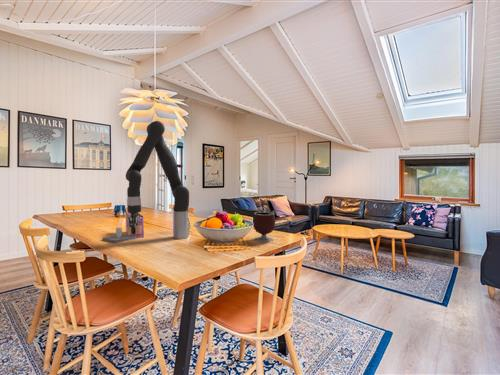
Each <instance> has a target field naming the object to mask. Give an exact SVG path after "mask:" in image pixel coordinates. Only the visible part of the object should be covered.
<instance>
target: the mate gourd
mask: <svg viewBox="0 0 500 375" xmlns="http://www.w3.org/2000/svg"><path fill="white" fill-rule="evenodd" d="M275 212H277V209H275V210H272V211H257V212H254V214H253V219H252V221H253V224H252V225H253V229H254V230H255V233H258V234H260V235H261V236H257V237H254V238H253V240H254V241H255V240H256V241H255V242H257V241H259V242H258V243H271V242H270V241H272V242H273V241H274V238H273V237H271V236H269V237H268V236H267V235H268V234H271V233H272V232H273V231H274V229H275V226H276V216H275Z"/></svg>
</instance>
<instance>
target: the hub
mask: <svg viewBox="0 0 500 375" xmlns="http://www.w3.org/2000/svg"><path fill="white" fill-rule="evenodd" d="M135 231H136V233H135V234H141V233H142V225H136V227H135ZM129 234H131V227H129V226H128V227H127V232H126V235H129Z"/></svg>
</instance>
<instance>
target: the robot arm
mask: <svg viewBox="0 0 500 375" xmlns="http://www.w3.org/2000/svg"><path fill="white" fill-rule="evenodd" d="M165 129H166V128H165V124H164V123H163V122H161V121H160V120H154V121H151V122H150V123H149V124H148V125H147V127H146V134H147V136H146V138H145V140H144V142H143V143H142V145H141V146H140V148H139V149H138V152H137V153H136V155H135V157H134V159H133V160H132V161H133V162H132V163H131V165H130V166H129V167H128V169H127V171H126V172H125V179H126V180H127V181H128V187H127V190H126V192H127V193H126V195H127V196H126V197H127V198H126V208H127V209H126V210H127V211H126V212H127V213H131V216H130V217H129V227H131V234H135V233H136V231H135V227H136V225H139V223H140V215H141V214H140V213H141V212H142V199H141V198H142V197H141V186H142V174H141V171H142V170H143V169H145V167H146V166H147V163H148V162H149V159H150V157H151V154H152V153H153V150H155V153H156V155H157V157H158V161H159V163H160V166H161V168H162V170H163V173H164V175H165V177H166V178H167V180H168V184H169V187H170V190H171V194H172V196H173V198H174V202H173V203H174V204H173V207H172V211H173V212H172V213H173V215H172V217H173V219H172V220H173V222H172V224H173V225H172V229H173V230H172V237H173V239H176V240H177V239H179V240H182V239H186V238H189V237H190V222H189V205H190V192H189V189H188V188H187V187H186V186H184V183H182V180H181V178H180V176H179V175H180V174H179V173H180V172H179V167H178V164H177V163H178V162H177V161H176V158H175V155H174V154H173V152H172V151H171V150H170V148H169V147H168V145H167V144H166V141H165V138H164V136H163V135H164V133H165ZM138 213H139V214H138ZM132 224H133V225H132Z"/></svg>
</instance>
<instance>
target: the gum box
mask: <svg viewBox="0 0 500 375" xmlns="http://www.w3.org/2000/svg"><path fill="white" fill-rule="evenodd" d="M138 214H140V212H138ZM130 216H131V213H128V212H127V213H125V224H126V225H125V227H126V230H125V232H126V233H127V227H128V226H129V217H130ZM132 225H133V224H132ZM139 225H142V233H141V234H129V235H130V236H135V239H140V238H141V239H142V238H145V235H144V234H145V232H144V231H145V230H144V227H145V223H144V216H143V215H141V214H140V223H139Z"/></svg>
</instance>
